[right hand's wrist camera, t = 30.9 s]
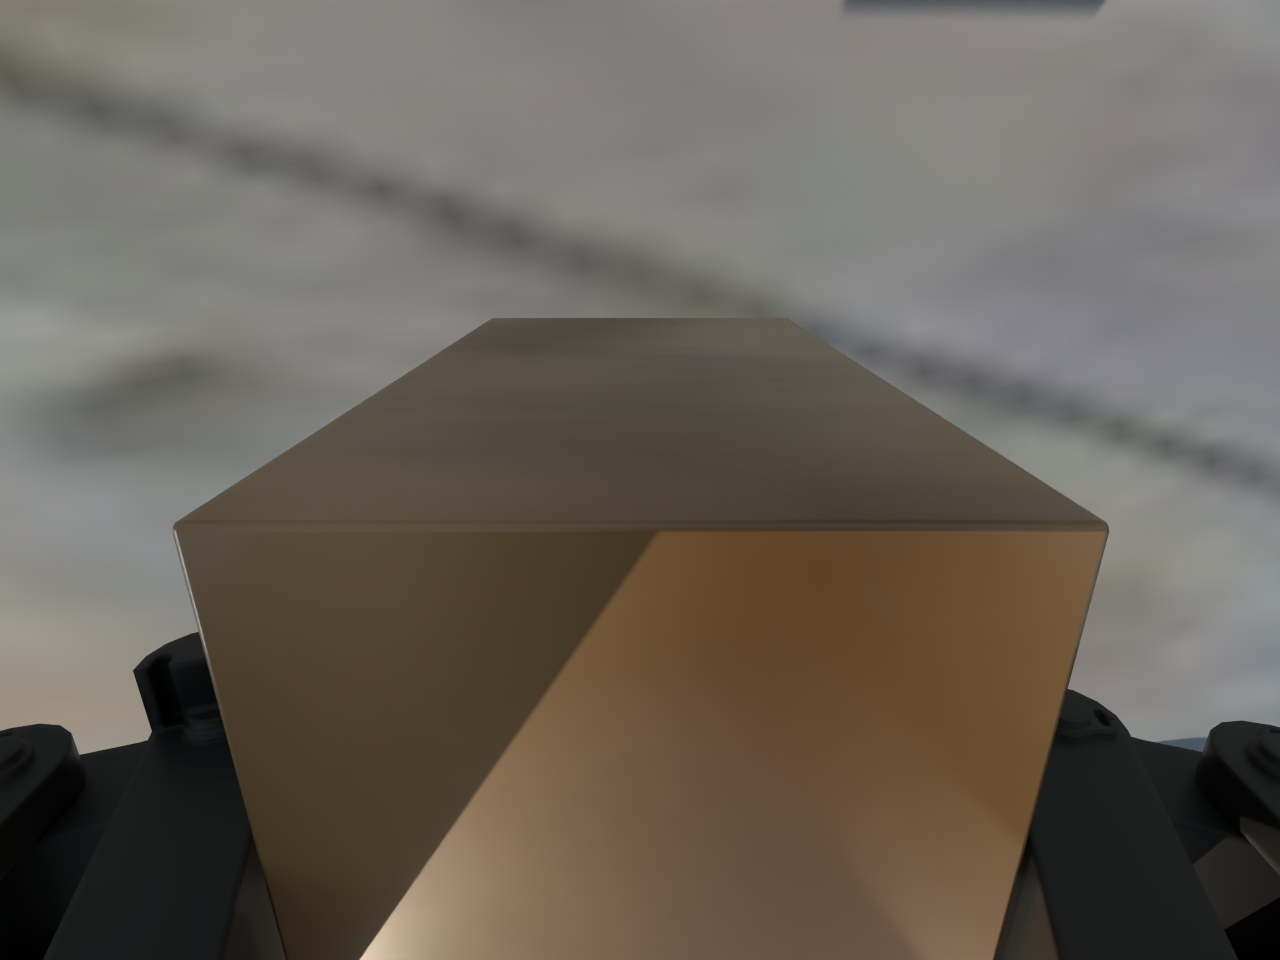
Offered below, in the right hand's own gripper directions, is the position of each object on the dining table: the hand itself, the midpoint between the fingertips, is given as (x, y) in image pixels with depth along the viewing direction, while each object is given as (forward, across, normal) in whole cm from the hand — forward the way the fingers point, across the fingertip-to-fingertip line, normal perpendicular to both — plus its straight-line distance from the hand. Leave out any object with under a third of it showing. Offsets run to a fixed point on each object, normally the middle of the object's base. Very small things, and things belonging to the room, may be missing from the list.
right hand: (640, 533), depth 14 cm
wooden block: (+2, 0, 0) cm, 2 cm away
